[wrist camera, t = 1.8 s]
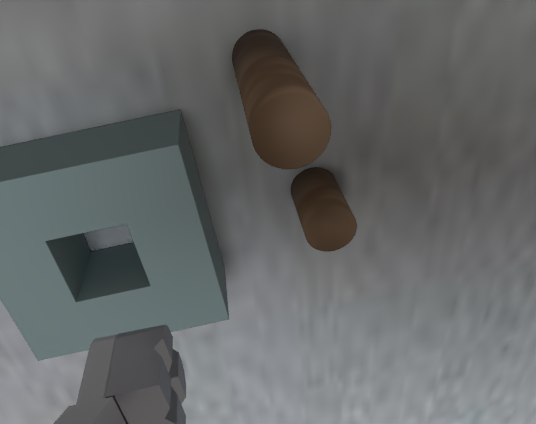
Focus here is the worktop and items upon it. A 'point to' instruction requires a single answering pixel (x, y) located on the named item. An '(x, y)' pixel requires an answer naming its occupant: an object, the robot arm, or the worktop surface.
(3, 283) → the hole block
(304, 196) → the short peg
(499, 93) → the worktop surface
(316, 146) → the long peg
